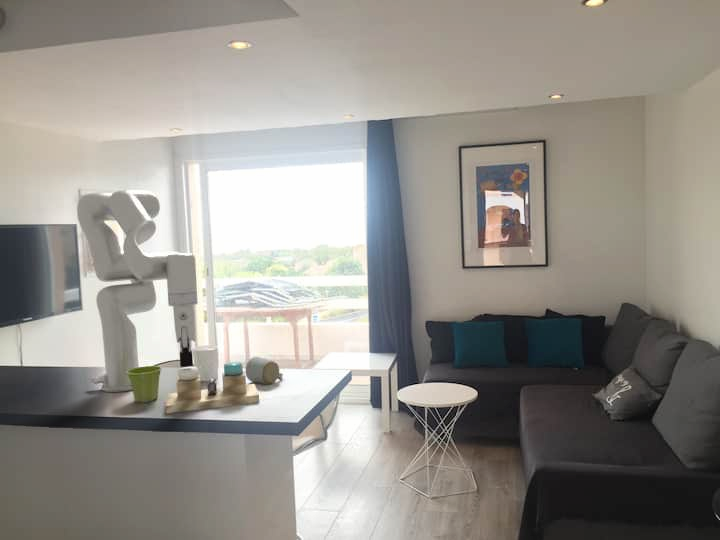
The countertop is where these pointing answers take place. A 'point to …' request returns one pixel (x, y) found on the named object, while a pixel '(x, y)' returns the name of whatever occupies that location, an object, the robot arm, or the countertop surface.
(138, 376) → the plant pot
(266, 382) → the ceramic mug
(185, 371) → the ivory knob
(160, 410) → the countertop surface
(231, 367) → the teal knob
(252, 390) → the mount
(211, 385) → the grey metal peg
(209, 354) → the white cup
